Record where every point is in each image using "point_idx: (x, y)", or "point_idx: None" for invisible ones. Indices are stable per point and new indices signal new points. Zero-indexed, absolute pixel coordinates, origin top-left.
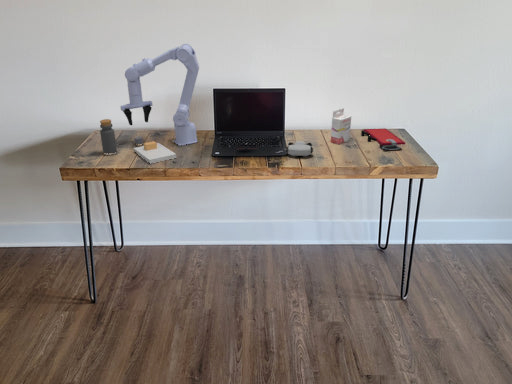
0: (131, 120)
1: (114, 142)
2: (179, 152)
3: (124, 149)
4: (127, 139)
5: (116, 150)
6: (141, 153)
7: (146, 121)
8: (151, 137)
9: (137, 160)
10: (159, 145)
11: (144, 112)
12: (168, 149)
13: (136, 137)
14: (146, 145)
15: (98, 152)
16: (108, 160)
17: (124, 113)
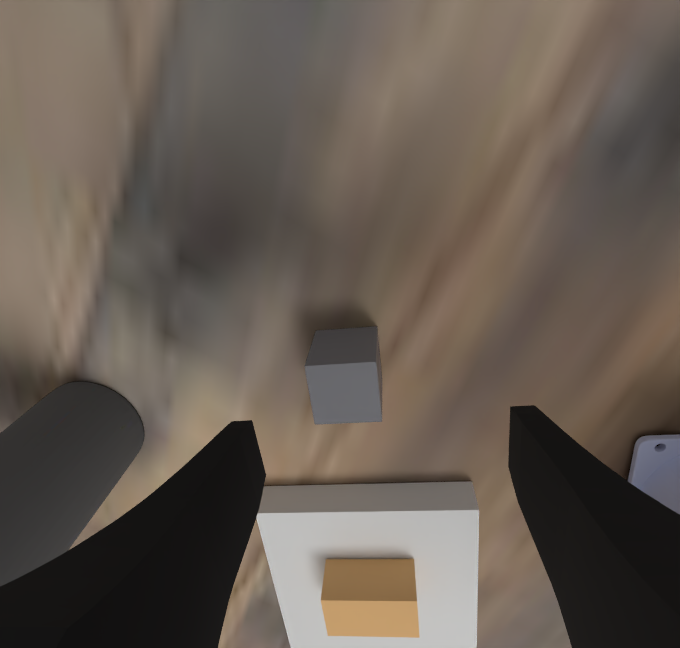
0: (234, 557)
1: (81, 531)
2: (539, 618)
3: (207, 397)
4: (280, 126)
5: (131, 460)
6: (285, 613)
7: (512, 473)
8: (545, 201)
9: (256, 598)
10: (457, 557)
11: (587, 555)
12: (474, 639)
13: (325, 378)
14: (330, 633)
15: (2, 359)
16: (87, 523)
17: (52, 573)
